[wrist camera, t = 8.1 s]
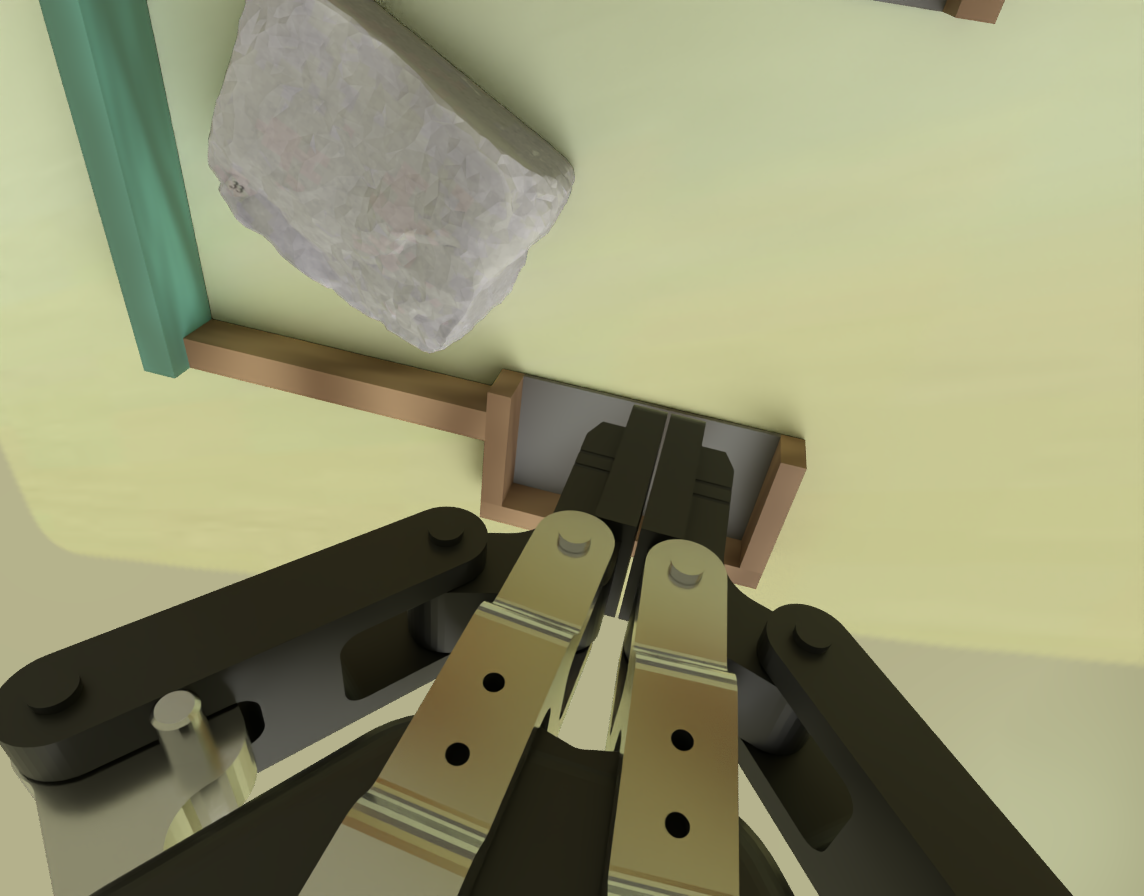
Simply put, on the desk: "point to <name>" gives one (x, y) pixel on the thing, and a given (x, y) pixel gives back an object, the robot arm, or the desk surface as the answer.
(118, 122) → the trap lane
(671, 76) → the desk surface
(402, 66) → the stone block
